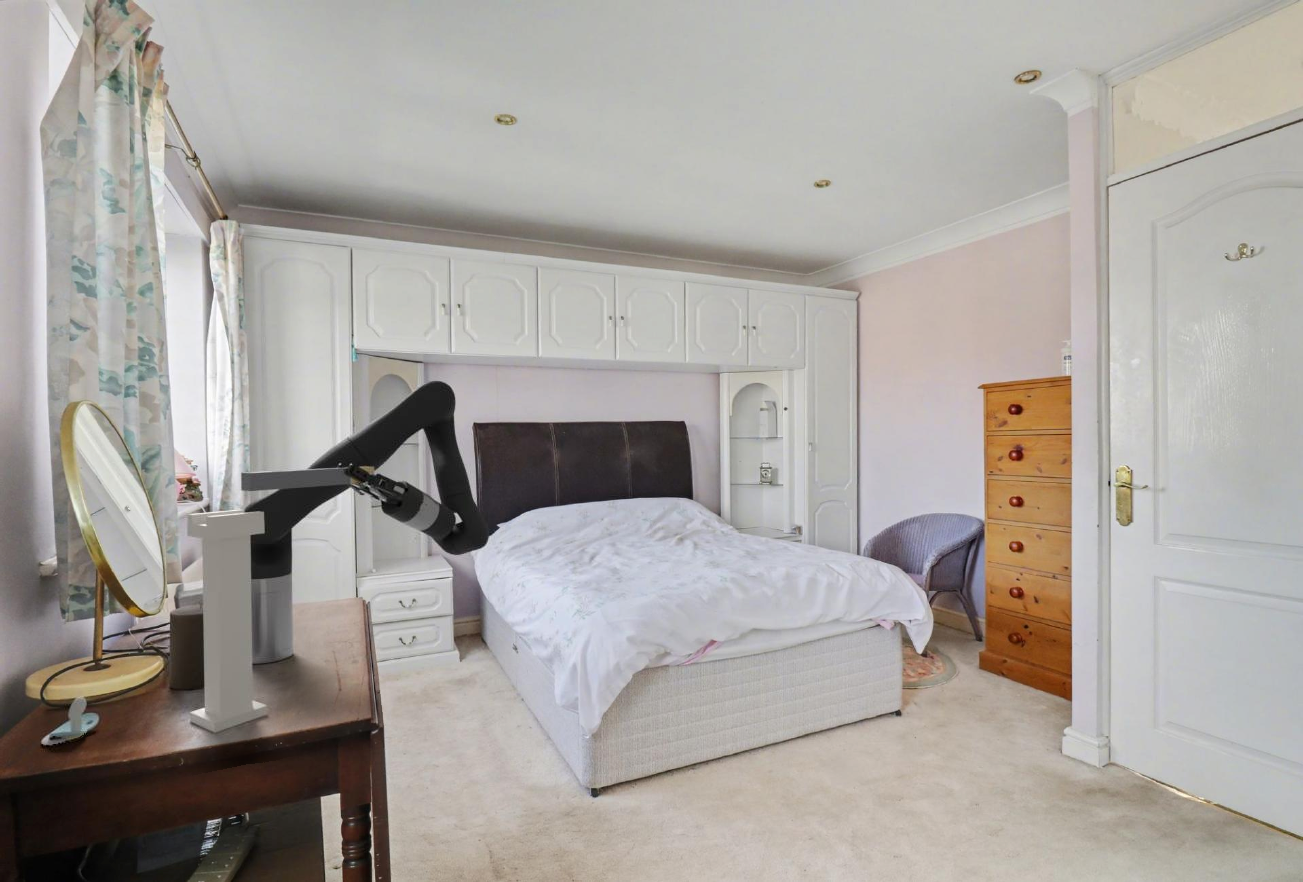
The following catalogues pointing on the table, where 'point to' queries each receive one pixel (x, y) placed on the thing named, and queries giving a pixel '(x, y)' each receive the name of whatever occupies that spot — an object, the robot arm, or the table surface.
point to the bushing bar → (297, 478)
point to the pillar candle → (187, 648)
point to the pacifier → (73, 723)
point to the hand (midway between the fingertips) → (343, 468)
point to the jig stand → (227, 617)
